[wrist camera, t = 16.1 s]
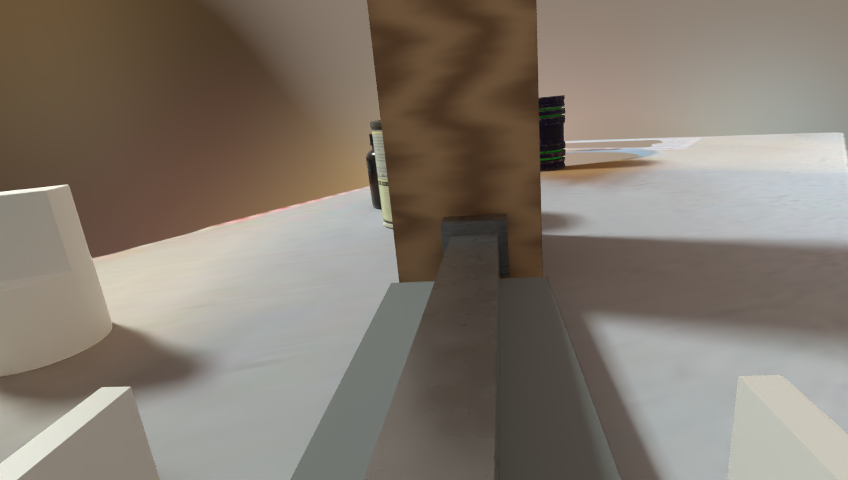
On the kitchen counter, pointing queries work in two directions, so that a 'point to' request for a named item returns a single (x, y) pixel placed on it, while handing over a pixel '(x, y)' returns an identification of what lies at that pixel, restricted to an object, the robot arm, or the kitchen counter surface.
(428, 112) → the brown wooden tall block
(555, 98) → the storage jar
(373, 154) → the supplement bottle
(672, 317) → the kitchen counter surface
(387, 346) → the gray block
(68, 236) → the white rounded-end block
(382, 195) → the coffee can
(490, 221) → the grey bar
